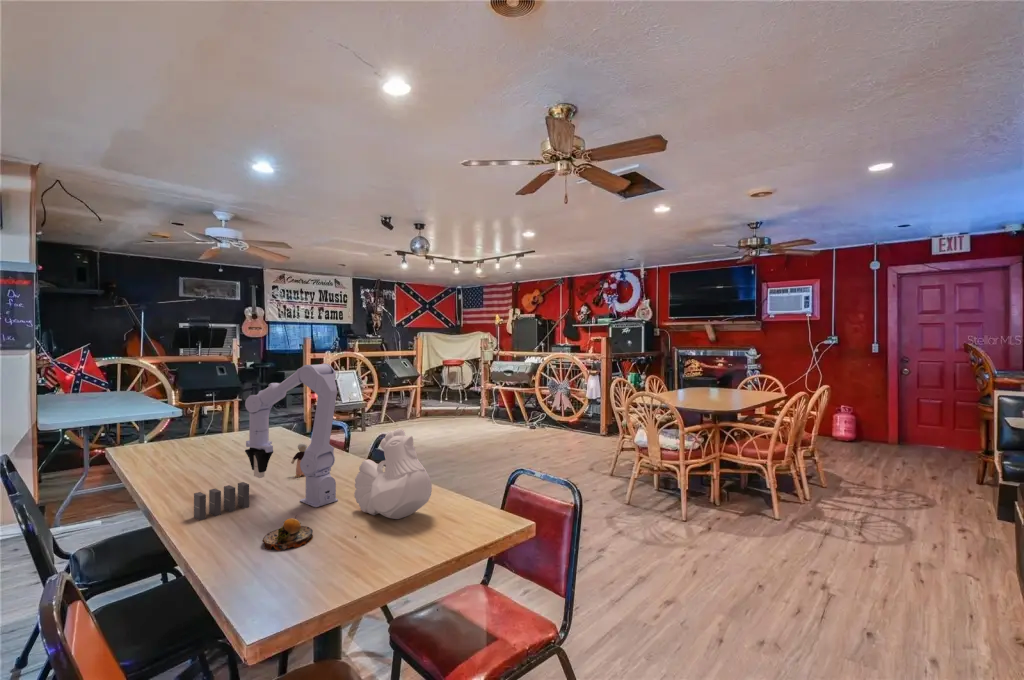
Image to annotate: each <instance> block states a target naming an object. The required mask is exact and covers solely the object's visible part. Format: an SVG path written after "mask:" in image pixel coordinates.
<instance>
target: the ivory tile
mask: <svg viewBox="0 0 1024 680" xmlns="http://www.w3.org/2000/svg"><path fill="white" fill-rule="evenodd" d="M265 472H266V471H265ZM265 472H261V473H260V472H259V471H258V464H257V460H256V457H255V455H254V470H253V477H255V478H258V479H261V478H265V474H266V473H265Z"/></svg>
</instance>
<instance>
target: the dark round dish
mask: <svg viewBox="0 0 1024 680" xmlns="http://www.w3.org/2000/svg"><path fill="white" fill-rule="evenodd" d="M297 515H298V514H296V515H295V517H297ZM301 524H302V522H300V521H299V520H298V519H297V518H293V517H292V518H288V519H286V520H285V521H284V522H283V525H282V526H281V527H280V528H277V529H275V530H272V531H270V532H268V533H266V535H264V537H263V538H262V541H261V542H262V543H264V549H266V550H268V551H272V547H273V548H274V549H275V550H276V551H277V552H281V551H282V550H283V551H285V550H286V549H290V548H294V549H297V548H300V547H301V546H302V545H304V546H305V545H307V544H308V543H310V542H311V541H312V540H313V538H314V534H313V531H314V530H313V529H312V527H309V526H303V525H301Z"/></svg>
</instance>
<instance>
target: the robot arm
mask: <svg viewBox="0 0 1024 680" xmlns="http://www.w3.org/2000/svg"><path fill="white" fill-rule="evenodd" d="M336 375H337V372H336V370H335V369H334V368H333V366H332V365H330V364H329V363H321V364H320V363H319V364H304V365H302V366H301V367H300V368H297V369H296V371H295V372H294V373H292V374H291V375H290V376H288V377H287V378H286V379H284V380H283V381H282V382H271V383H269V384H268V387H266V388H264V389H262V390H259V391H258V393H257V394H250V395H248V397H247V398H246V399H245V402H244V404H245V405H244V406H245V409H246V411H247V412H249V414H248V415H249V435H248V436H249V439H248V440H246V441H245V447H246V448H248V449H245V450H244V452H245V454H246V455H247V457H248V460H249V463H250V466H251V470H252V471H254V455H255V457H256V460H257V464H258V471H259V472H260V473H261V472H267V469H268V465H269V462H270V459H271V457H272V455H273V453H274V445H272V444H273V441H271V440H270V439H269V438H270V437H269V436H270V435H269V434H270V433H269V432H270V430H269V429H270V428H269V427H270V425H269V424H270V423H269V422H270V420H269V419H270V418H269V417H270V416H269V415H270V414H271V409H272V408H273V405H275V404H277V403H278V402H279V401H281V400H283V399H284V398H286V396H287V392H288V391H291V390H293V388H295V387H297V386H299V385H301V384H304V385H305V386H306V387H307V388H309V389H310V390H312V391H313V392H314V393H315V394H316V395H317V401H316V409H315V414H314V420H313V427H312V433H311V441H310V443H309V445H307V448H306V450H305V453H304V456H303V458H302V460H301V462H300V468H301V470H302V472H303V473H304V476H303V477H305V497H304V498H302V499H299V502H301V503H303V504H306V505H309V506H311V507H312V508H313V507H314V508H318V507H322V506H325V505H328V504H331V503H335V502H338V501H339V498H336V495H337V494H336V492H337V491H336V489H337V488H336V487H337V483H336V479H335V478H334V477H333V476H332V475H331V471H332V467H333V466H334V464H335V461H336V457H335V448H334V446H332V445H331V444H330V441H331V435H332V427H333V421H334V415H335V409H336V401H337V394H338V389H337V383H336Z"/></svg>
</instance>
